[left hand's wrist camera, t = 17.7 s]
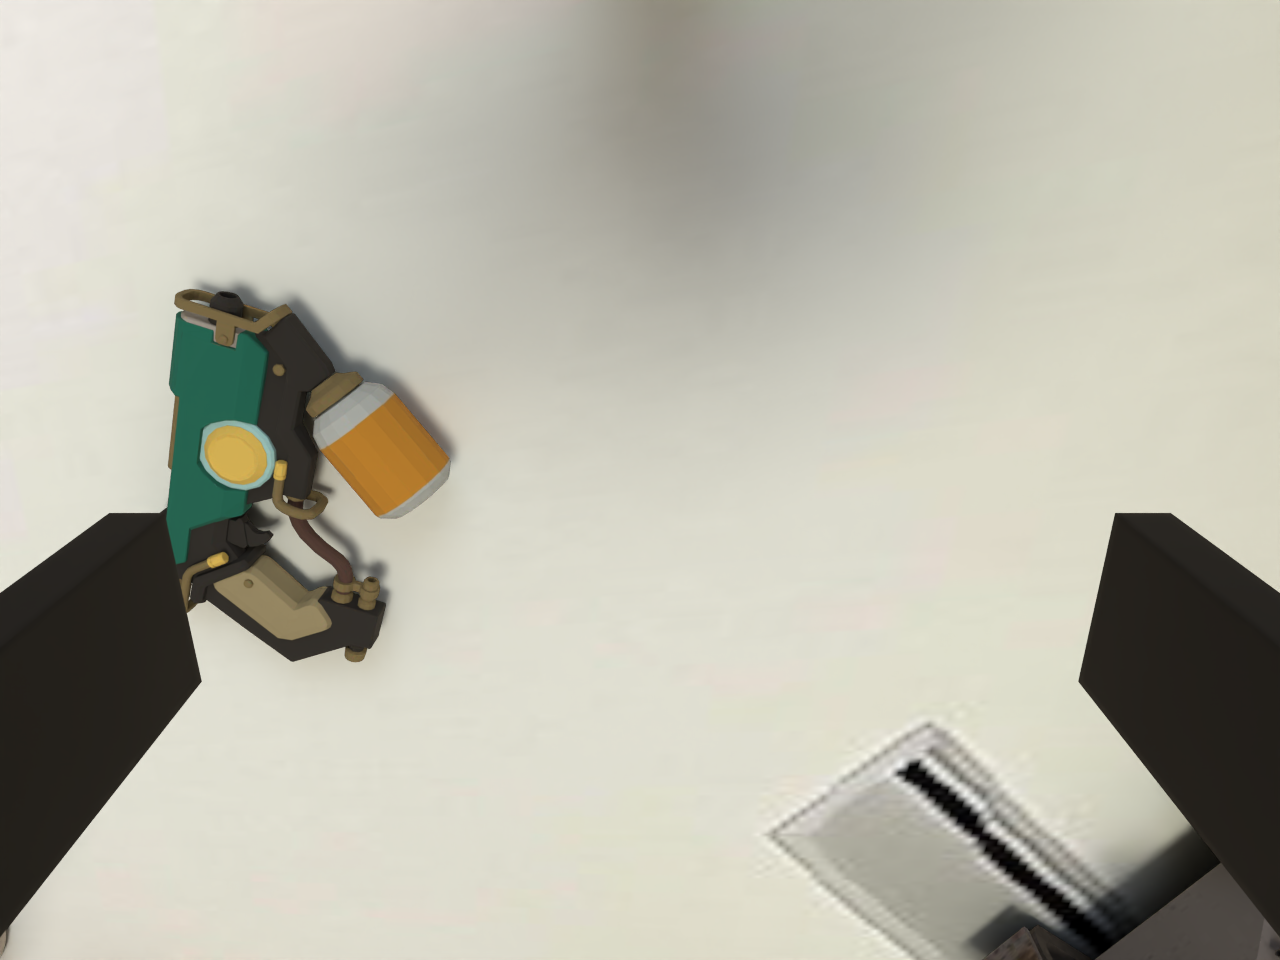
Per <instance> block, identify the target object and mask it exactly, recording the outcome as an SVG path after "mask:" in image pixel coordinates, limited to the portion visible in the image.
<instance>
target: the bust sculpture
mask: <svg viewBox="0 0 1280 960" xmlns="http://www.w3.org/2000/svg"><path fill="white" fill-rule="evenodd" d="M5 943H6V931H5V932H4V933H3V935H2V936H1V937H0V957H1V955H2V953H3V950H4V947H5Z"/></svg>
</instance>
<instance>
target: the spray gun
mask: <svg viewBox="0 0 1280 960" xmlns="http://www.w3.org/2000/svg"><path fill="white" fill-rule="evenodd" d="M189 300H200V301H205V302H208V303H210V307H207V306H204V305H201V304H198V303H195V302H192V301H189ZM174 304H175V305H176V306H177V307H178V308H180V309H183V310H184V311H181V312H178V313H177V314H176V322H175V332H174V341H173V351H172V360H171V370H170V379H169V386H170V389H171V390H172V392H173V393H174V395H175V403H174V413H173V423H172V432H171V442H170V451H169V461H168V467H169V468H170V469H171V479H170V489H169V498H168V507H167V508H165V509H164V510H163V511H162V512H160V513H165V516H166V521H167V526H168V530H169V535H170V539H171V544H172V548H173V553H174V558H175V562H176V567H177V571H178V576H179V580H180V585H181V590H182V594H183V599H184V603H185V608H186V612H187V613H188V612H189V611H190V610H191V609H193V608H194V607H195V606H196V605H197V604H198V603H204V602H205V601H206V600H208V601H209V602H211V603H212V604H213V605H215V606H216V607H217V608H219V609H220V610H221V611H223V612H224V613H225V614H227V615H228V616H229V617H231V618H232V619H233V620H235V621H236V622H237V623H239V624H240V625H241V626H243V627H244V628H245V629H247V630H248V631H250V632H251V633H252V634H254V635H255V636H256V637H258V638H259V639H261V640H262V641H263V642H265V643H266V644H268V645H269V646H270V647H272V648H273V649H275V650H276V651H277V652H279V653H280V654H282V655H283V656H284V657H286V658H287V659H289V660H290V661H292V662H294V661H297V660H301V659H304V658H308V657H311V656H315V655H318V654H321V653H325V652H328V651H332V650H335V649H339V648H342V647H346V648H345V658H346V659H347V660H349V661H351V662H360V661H362V660H363V659H364V657H365V654H366V652H367V648H368V649H370V648H371V647H372V646H373V644H374V642H375V641H376V639H377V637H378V636H379V631H380V627H381V623H382V619H383V615H384V611H385V607H386V604H385V603H384V602H381V601H377V600H375V599H376V598H377V597H378V595H379V591H380V586H379V580H378V579H377V578H375V577H367V578H366V579H364V582H363V583H362V582H358V581H356V580H355V577H354V576H353V572H352V567H351V565H350V563H349V561H348V560H347V559H346V558H345V557H344V556H343V555H342V554H341V553H339V552H338V551H337V550H335V549H334V548H333V547H331V546H330V545H329V544H327V543H326V542H325V541H324V540H323V539H322V538H321V537H320V536H319V535H318V534H317V533H316V532H315V531H314V530H313V529H312V527H311V526H310V525H309V523H308V521H307V519H314V518H315V517H317V516H318V515H319V514H320V513H322V512H323V511H324V509H325V507H326V505H327V503H328V498H327V497H325V496H324V495H323V494H322V493H320V492H317V491H313V490H311V488H312V482H313V477H314V471H315V466H316V460H317V455H318V452H317V450H316V448H315V446H314V444H313V442H312V440H311V438H310V436H309V434H308V432H307V430H306V428H305V426H304V424H303V415H304V408H305V400H306V393H307V391H308V392H311V391H312V393H311V398H310V400H309V402H308V405H307V407H306V411H307V412H308V413H309V415H310V416H311V417H313V418H314V417H316V416H317V418H316V419H315V420H314V430H313V437H314V439H315V441H316V443H317V445H318V447H319V449H320V451H321V452H322V453H323V454H324V455H325V456H326V458H327V459H328V460H329V461H330V462H331V464H332V465H333V466H334V467H335V468H336V469H337V471H338V472H339V473H340V474H341V475H342V476H343V478H344V479H345V480H346V481H347V482H348V484H349V485H350V486H351V487H352V488H353V489H354V491H355V492H356V493H357V494H358V495H359V496H360V498H361V499H362V500H363V501H364V502H365V504H366V505H367V506H368V507H369V508H370V509H371V511H372V512H373V513H374V514H375V515H376V516H377V517H379V518H399V517H402V516H403V515H405V514H407V513H409V512H410V511H412V510H413V509H415V508H416V507H417V506H419V505H420V504H422V503H423V502H424V501H425V500H426V499H428V498H429V497H430V496H431V495H432V494H433V493H435V492H436V491H437V490H438V489H439V488H440V487H441V486H442V485H443V484H444V483H445V481H446V480H447V479H448V477H449V471H450V459H449V457H448V456H447V455H446V454H445V452H444V451H443V450H442V449H441V448H440V446H439V445H438V444H437V443H436V442H435V441H434V439H433V438H432V437H431V436H430V435H429V433H428V432H427V431H426V430H425V429H424V428H423V426H422V425H421V424H420V423H419V422H418V420H417V419H416V418H415V417H414V416H413V415H412V413H411V412H410V411H409V410H408V409H407V407H406V406H405V405H404V404H403V403H402V401H401V400H400V399H399V398H398V397H397V396H396V394H395V393H394V392H392V391H391V390H389V389H388V388H387V387H385V386H384V385H382V384H379V383H370V382H364V383H362V384H360V383H361V382H362V381H363V378H362V377H361V376H360V375H359V373H358V372H349V373H335V374H333V373H334V372H336V371H335V369H334V367H333V364H332V362H331V361H330V360H329V358H328V357H327V356H326V354H325V353H324V352H323V350H322V349H321V348H320V346H319V345H318V344H317V343H316V341H315V340H314V339H313V337H312V336H311V335H310V333H309V332H308V331H307V329H306V328H305V327H304V325H303V324H302V323H301V322H300V320H299V319H298V318H297V316H296V315H295V314H293V313H292V311H291V309H290V308H289V307H288V306H287V305H286V304H284V305H282V306H280V307H278V308H276V309H274V310H272V311H270V312H267V311H264V310H261V309H258V308H255V307H252V306H248V305H245V304H243V302H242V301H241V299H240V298H239V296H238V295H236V294H234V293H230V292H223V291H222V292H218V293H217V294H212V293H209V292H206V291H201V290H195V289H188V290H183V291H181V292H179V293H177V294H176V295H175V303H174ZM253 318H257V319H259V320H258V321H256V322H253ZM269 326H272V328H271V329H270V330H269V331H268V330H267V329H266V328H268V327H269ZM332 374H333V375H332ZM331 375H332V376H331ZM329 376H331V377H329ZM328 377H329V378H328ZM327 378H328V379H327ZM326 379H327V380H326ZM324 380H325V381H324ZM323 381H324V382H323ZM322 382H323V383H322ZM319 384H320V385H319ZM318 385H319V386H318ZM314 388H315V389H314ZM283 495H285V496H286V497H287V498H288V503H286V502H285V501H284V500H283ZM271 498H273V503H274V505H275V507H276V508H277V509H278V510H280V511H281V512H282V513H284V514H286V515H288V516H289V518H290V521H291V523H292V526H293V527H294V529H295V531H296V532H297V534H298V535H299V537H300V538H301V539H302V540H303V541H304V542H305V543H306V544H307V545H308V546H309V547H310V548H311V549H312V550H313V551H314V552H315V553H317V554H318V555H319V556H321V557H322V558H323V559H325V560H326V561H327V562H329V563H330V564H331V565H332V566H333V567H334V568H335V569H336V570H337V573H338V574H337V575H336V576H335V577H334V582H333V587H331V586H330V587H325V586H323V587H319V588H317V589H315V590H312V591H308V590H307V589H306V588H304V587H303V586H302V585H301V584H300V583H299V582H298V581H297V580H295V579H294V578H293V577H292V576H291V575H290V574H289V573H288V572H287V571H285V570H284V569H283V568H282V567H281V566H280V565H279V564H278V563H276V562H275V561H274V560H273V559H272V558H270V557H269V556H266V555H262V554H263V553H264V552H265V550H266V545H264V543H265V542H267V541H269V540H270V539H271V537H272V536H273V534H272V533H271V532H270V530H269V531H260V530H258V529H257V528H255V527H254V525H253V524H252V522H251V521H249V518H248V516H247V514H244V513H245V512H246V511H247V510H249V509H250V508H251V507H252V503H254V502H259V501H263V500H267V499H271ZM305 499H308V500H312V501H316V502H317V503H316V504H315V505H314V506H313V507H312V508H311V509H303V500H305ZM241 515H242V516H241ZM247 545H249V546H248V547H246V546H247ZM191 583H193V585H192V590H191ZM190 590H191V595H190ZM352 591H356V592H359V594H360V595H358V594H354V593H353V592H352ZM189 596H190V600H189ZM188 600H189V601H188Z"/></svg>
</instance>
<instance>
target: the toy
mask: <svg viewBox="0 0 1280 960" xmlns="http://www.w3.org/2000/svg"><path fill="white" fill-rule="evenodd" d="M983 960H1092V959H1091V958H1089V957H1087V956H1086V955H1084V954H1083V953H1081V952H1080V951H1078V950H1077V949H1075V948H1073V947H1072V946H1070V945H1069V944H1067V943H1066V942H1064V941H1062V940H1061V939H1059V938H1058V937H1056V936H1055V935H1053V934H1051V933H1050V932H1048V931H1047V930H1045V929H1044V928H1042V927H1040V926H1039V925H1037V926H1035V927H1034V928H1033V929H1032V930H1030V931H1029V930H1028V929H1027V928H1025V927H1023V928H1021V929H1020V930H1019V931H1018V932H1016V933H1015V934H1014V935H1013V936H1011V937H1010V938H1009V939H1008V940H1007V941H1005V942H1004V943H1003V944H1002V945H1000V946H999V947H998V948H997V949H995V950H994V951H993V952H992V953H990V954H989V955H988V956H987V957H985V958H984V959H983ZM1095 960H1280V937H1279V936H1278V935H1277V933H1276V932H1275V931H1274V929H1273V928H1272V927H1271V926H1270V924H1269V923H1268V922H1267V921H1266V919H1265V918H1264V917H1263V916H1262V914H1261V913H1260V912H1259V910H1258V909H1257V908H1256V907H1255V905H1254V904H1253V903H1252V902H1251V900H1250V899H1249V898H1248V896H1247V895H1246V894H1245V893H1244V891H1243V890H1242V889H1241V888H1240V886H1239V885H1238V884H1237V882H1236V881H1235V880H1234V879H1233V877H1232V876H1231V875H1230V874H1229V872H1228V871H1227V870H1226V868H1225V867H1224V866H1223V865H1222V863H1220V864H1219V865H1217V866H1216V867H1215V868H1213V869H1212V870H1211V871H1209V872H1208V873H1207V874H1206V875H1204V876H1203V877H1202V878H1200V879H1199V880H1198V881H1196V882H1195V883H1194V884H1193V885H1191V886H1190V887H1189V888H1187V889H1186V890H1185V891H1183V892H1182V893H1181V894H1180V895H1178V896H1177V897H1176V898H1174V899H1173V900H1172V901H1170V902H1169V903H1168V904H1167V905H1165V906H1164V907H1163V908H1161V909H1160V910H1159V911H1157V912H1156V913H1155V914H1154V915H1152V916H1151V917H1150V918H1148V919H1147V920H1146V921H1144V922H1143V923H1142V924H1141V925H1139V926H1138V927H1137V928H1135V929H1134V930H1133V931H1131V932H1130V933H1129V934H1128V935H1126V936H1125V937H1124V938H1122V939H1121V940H1120V941H1118V942H1117V943H1116V944H1114V945H1113V946H1112V947H1111V948H1109V949H1108V950H1107V951H1105V952H1104V953H1103V954H1101V955H1100V956H1099V957H1098V958H1096V959H1095Z"/></svg>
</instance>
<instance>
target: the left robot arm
mask: <svg viewBox="0 0 1280 960" xmlns="http://www.w3.org/2000/svg"><path fill="white" fill-rule="evenodd" d="M201 682H202V681H201V676H200V672H199V667H198V663H197V658H196V654H195V649H194V644H193V640H192V635H191V631H190V626H189V622H188V617H187V612H186V608H185V603H184V599H183V594H182V590H181V585H180V580H179V576H178V571H177V567H176V562H175V558H174V553H173V548H172V544H171V539H170V535H169V530H168V526H167V521H166V516H165V513H109V514H107V515H106V516H105V517H103V518H102V519H101V520H99V521H98V522H97V523H95V524H94V525H92V526H91V527H90V528H88V529H87V530H86V531H84V532H83V533H82V534H80V535H79V536H77V537H76V538H75V539H73V540H72V541H71V542H69V543H68V544H67V545H65V546H64V547H62V548H61V549H60V550H58V551H57V552H56V553H54V554H53V555H52V556H50V557H49V558H47V559H46V560H45V561H43V562H42V563H41V564H39V565H38V566H37V567H35V568H34V569H32V570H31V571H30V572H28V573H27V574H26V575H24V576H23V577H22V578H20V579H19V580H17V581H16V582H15V583H13V584H12V585H11V586H9V587H8V588H6V589H5V590H4V591H2V592H1V593H0V937H1V936H2V935H3V933H4V932H5V931H6V929H7V928H8V927H9V926H10V924H11V923H12V922H13V921H14V919H15V918H16V917H17V916H18V914H19V913H20V912H21V910H22V909H23V908H24V907H25V905H26V904H27V903H28V902H29V900H30V899H31V898H32V896H33V895H34V894H35V893H36V891H37V890H38V889H39V888H40V886H41V885H42V884H43V882H44V881H45V880H46V879H47V877H48V876H49V875H50V874H51V872H52V871H53V870H54V868H55V867H56V866H57V865H58V863H59V862H60V861H61V860H62V858H63V857H64V856H65V854H66V853H67V852H68V851H69V849H70V848H71V847H72V846H73V844H74V843H75V842H76V841H77V839H78V838H79V837H80V835H81V834H82V833H83V832H84V830H85V829H86V828H87V827H88V825H89V824H90V823H91V821H92V820H93V819H94V818H95V816H96V815H97V814H98V813H99V811H100V810H101V809H102V807H103V806H104V805H105V804H106V802H107V801H108V800H109V799H110V797H111V796H112V795H113V793H114V792H115V791H116V790H117V788H118V787H119V786H120V785H121V783H122V782H123V781H124V780H125V778H126V777H127V776H128V774H129V773H130V772H131V771H132V769H133V768H134V767H135V766H136V764H137V763H138V762H139V760H140V759H141V758H142V757H143V755H144V754H145V753H146V752H147V750H148V749H149V748H150V746H151V745H152V744H153V743H154V741H155V740H156V739H157V738H158V736H159V735H160V734H161V732H162V731H163V730H164V729H165V727H166V726H167V725H168V724H169V722H170V721H171V720H172V718H173V717H174V716H175V715H176V713H177V712H178V711H179V710H180V708H181V707H182V706H183V705H184V703H185V702H186V701H187V699H188V698H189V697H190V696H191V694H192V693H193V692H194V691H195V689H196V688H197V687H198V685H199V684H200V683H201ZM1078 682H1079V683H1080V684H1081V685H1082V687H1083V688H1084V689H1085V691H1086V692H1087V693H1088V694H1089V696H1090V697H1091V698H1092V699H1093V701H1094V702H1095V703H1096V705H1097V706H1098V707H1099V708H1100V710H1101V711H1102V712H1103V713H1104V715H1105V716H1106V717H1107V718H1108V720H1109V721H1110V722H1111V724H1112V725H1113V726H1114V727H1115V729H1116V730H1117V731H1118V732H1119V734H1120V735H1121V736H1122V738H1123V739H1124V740H1125V741H1126V743H1127V744H1128V745H1129V746H1130V748H1131V749H1132V750H1133V752H1134V753H1135V754H1136V755H1137V757H1138V758H1139V759H1140V760H1141V762H1142V763H1143V764H1144V766H1145V767H1146V768H1147V769H1148V771H1149V772H1150V773H1151V774H1152V776H1153V777H1154V778H1155V780H1156V781H1157V782H1158V783H1159V785H1160V786H1161V787H1162V788H1163V790H1164V791H1165V792H1166V793H1167V795H1168V796H1169V797H1170V799H1171V800H1172V801H1173V802H1174V804H1175V805H1176V806H1177V807H1178V809H1179V810H1180V811H1181V813H1182V814H1183V815H1184V816H1185V818H1186V819H1187V820H1188V821H1189V823H1190V824H1191V825H1192V827H1193V828H1194V829H1195V830H1196V832H1197V833H1198V834H1199V835H1200V837H1201V838H1202V839H1203V841H1204V842H1205V843H1206V844H1207V846H1208V847H1209V848H1210V849H1211V851H1212V852H1213V853H1214V854H1215V856H1216V857H1217V858H1218V860H1219V861H1220V862H1221V863H1222V865H1223V866H1224V867H1225V868H1226V870H1227V871H1228V872H1229V874H1230V875H1231V876H1232V877H1233V879H1234V880H1235V881H1236V882H1237V884H1238V885H1239V886H1240V888H1241V889H1242V890H1243V891H1244V893H1245V894H1246V895H1247V896H1248V898H1249V899H1250V900H1251V902H1252V903H1253V904H1254V905H1255V907H1256V908H1257V909H1258V910H1259V912H1260V913H1261V914H1262V916H1263V917H1264V918H1265V919H1266V921H1267V922H1268V923H1269V924H1270V926H1271V927H1272V928H1273V929H1274V931H1275V932H1276V933H1277V935H1278V936H1279V937H1280V593H1279V592H1278V591H1276V590H1275V589H1274V588H1272V587H1271V586H1269V585H1268V584H1267V583H1265V582H1264V581H1263V580H1261V579H1260V578H1258V577H1257V576H1256V575H1254V574H1253V573H1252V572H1250V571H1249V570H1248V569H1246V568H1245V567H1243V566H1242V565H1241V564H1239V563H1238V562H1237V561H1235V560H1234V559H1233V558H1231V557H1230V556H1228V555H1227V554H1226V553H1224V552H1223V551H1222V550H1220V549H1219V548H1218V547H1216V546H1215V545H1213V544H1212V543H1211V542H1209V541H1208V540H1207V539H1205V538H1204V537H1203V536H1201V535H1200V534H1198V533H1197V532H1196V531H1194V530H1193V529H1192V528H1190V527H1189V526H1188V525H1186V524H1185V523H1183V522H1182V521H1181V520H1179V519H1178V518H1177V517H1175V516H1174V515H1173V514H1171V513H1115V516H1114V521H1113V526H1112V530H1111V535H1110V539H1109V544H1108V548H1107V553H1106V558H1105V562H1104V567H1103V571H1102V576H1101V580H1100V585H1099V590H1098V594H1097V599H1096V603H1095V608H1094V612H1093V617H1092V622H1091V626H1090V631H1089V635H1088V640H1087V644H1086V649H1085V654H1084V658H1083V663H1082V667H1081V672H1080V676H1079V681H1078Z"/></svg>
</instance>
